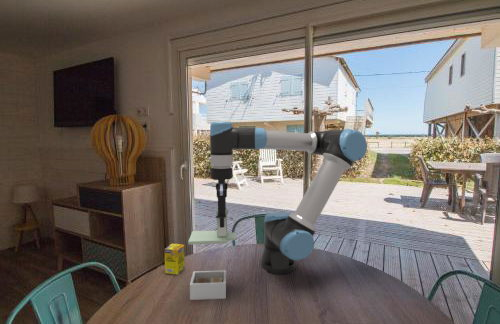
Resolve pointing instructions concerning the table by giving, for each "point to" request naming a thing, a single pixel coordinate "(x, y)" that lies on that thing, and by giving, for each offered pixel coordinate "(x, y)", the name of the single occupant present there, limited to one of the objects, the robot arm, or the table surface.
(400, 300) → the table surface
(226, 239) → the lid
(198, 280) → the walnut cube
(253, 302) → the table surface
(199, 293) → the tub
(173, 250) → the supplement box
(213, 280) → the beech cube
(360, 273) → the table surface
